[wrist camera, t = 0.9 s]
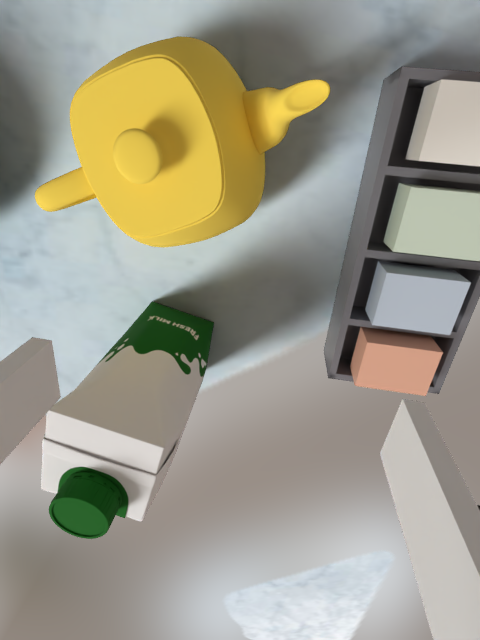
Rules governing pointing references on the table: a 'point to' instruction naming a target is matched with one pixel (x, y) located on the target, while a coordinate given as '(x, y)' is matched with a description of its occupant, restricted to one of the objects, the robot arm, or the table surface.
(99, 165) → the teapot
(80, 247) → the table surface
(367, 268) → the keypad base
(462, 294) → the key
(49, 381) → the robot arm
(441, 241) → the key
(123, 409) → the milk carton
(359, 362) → the key
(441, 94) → the key
